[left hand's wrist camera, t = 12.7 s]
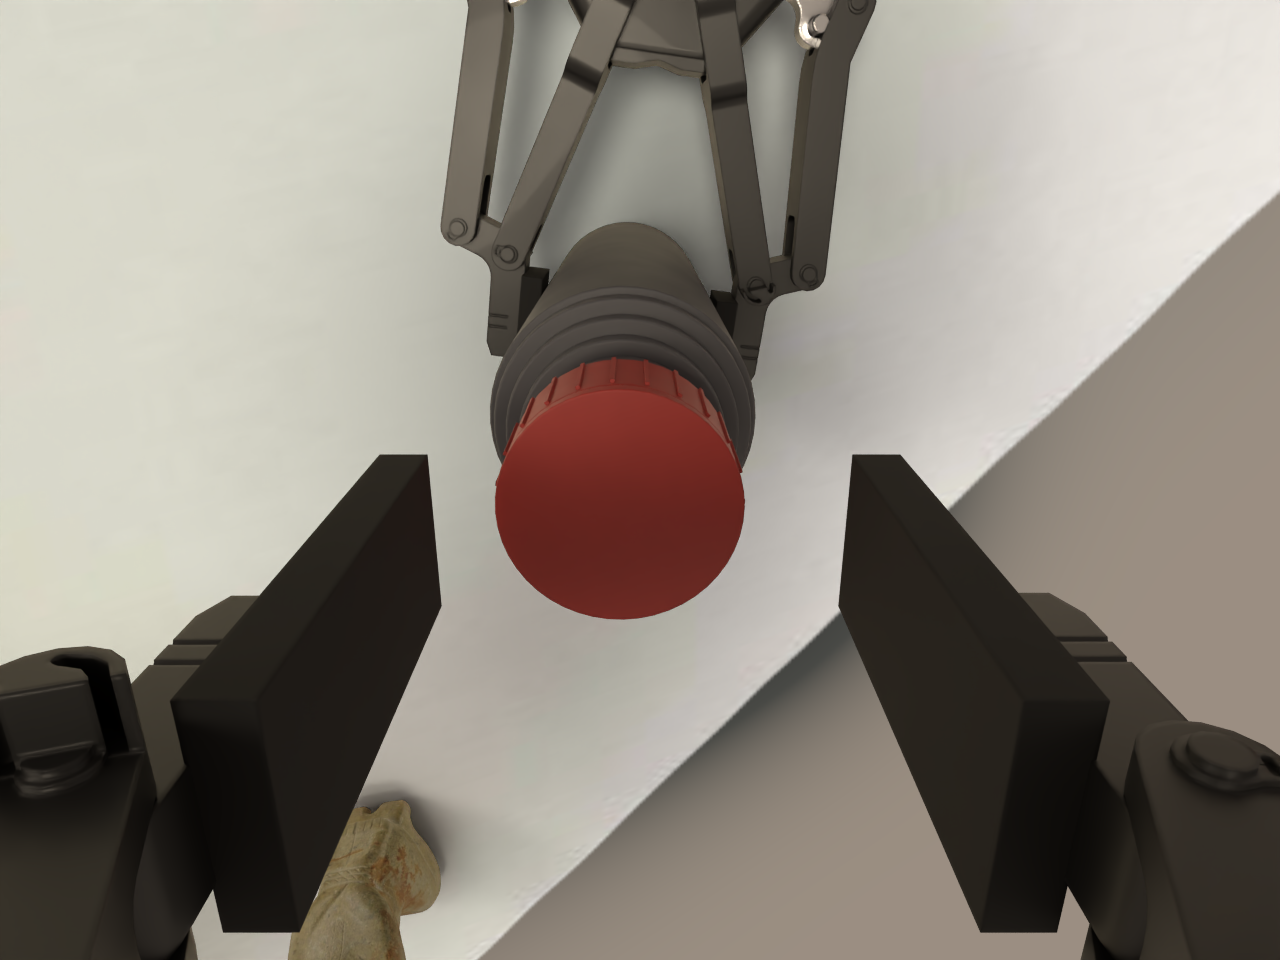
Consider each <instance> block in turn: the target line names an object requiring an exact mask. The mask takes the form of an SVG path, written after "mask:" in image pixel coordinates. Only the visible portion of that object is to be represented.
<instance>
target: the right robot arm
mask: <svg viewBox="0 0 1280 960" xmlns="http://www.w3.org/2000/svg"><path fill="white" fill-rule="evenodd" d="M782 1H783V0H568V2H569V4H570V6H571V8H572V10H573V12H574V14H575V15H576V17H577V19H578V21H579V23H580V25H581V28H580V30H579V32H578V35H577V37H576V40H575V42H574V45H573V47H572V49H571V52H570V54H569V57H568V59H567V62H566V65H565V69H564V73H563V75H562V78H561V80H560V83H559V85H558V88H557V90H556V92H555V95H554V97H553V100H552V102H551V105H550V107H549V109H548V112H547V114H546V117H545V119H544V122H543V124H542V127H541V129H540V131H539V134H538V136H537V139H536V141H535V144H534V146H533V148H532V151H531V153H530V156H529V158H528V161H527V163H526V165H525V168H524V170H523V173H522V175H521V178H520V180H519V182H518V185H517V187H516V190H515V192H514V195H513V197H512V199H511V202H510V204H509V207H508V209H507V212H506V214H505V216H504V219H503V221H502V223H500V222H498V221H496V220H494V219H492V218H490V217H488V216H487V215H488V208H489V201H490V194H491V187H492V180H493V174H494V167H495V160H496V153H497V146H498V139H499V133H500V126H501V119H502V112H503V105H504V98H505V91H506V85H507V78H508V71H509V64H510V57H511V50H512V44H513V34H514V9H513V7H517V6H521V5H523V4H524V3H526V2H527V0H467V2H468V7H469V8H468V16H467V23H466V31H465V39H464V47H463V54H462V62H461V70H460V78H459V86H458V93H457V101H456V109H455V117H454V125H453V132H452V140H451V148H450V156H449V164H448V171H447V179H446V187H445V195H444V203H443V210H442V218H441V232H442V235H443V237H444V238H445V239H446V240H447V241H448V242H449V243H450V244H453V245H455V246H461V247H463V248H465V249H467V250H469V251H471V252H473V253H475V254H477V255H479V256H480V257H481V258H483V259H484V260H485V261H486V263H487V264H488V266H489V269H490V272H491V286H490V301H489V316H488V330H487V343H488V347H489V350H490V353H491V355H495V356H503V357H504V355H505V353H506V352H507V350H508V348H509V347H510V345H511V343H512V342H513V340H514V338H515V337H516V335H517V334H518V332H519V331H520V329H521V327H522V326H523V324H524V323H525V321H526V320H527V318H528V316H529V315H530V313H531V312H532V310H533V308H534V307H535V305H536V304H537V302H538V301H539V299H540V297H541V296H542V294H543V293H544V291H545V290H546V288H547V286H548V280H549V269H545V268H537V267H529V265H530V256H531V255H532V253H533V252H532V251H533V248H534V246H535V244H536V241H537V239H538V237H539V234H540V232H541V230H542V227H543V225H544V223H545V220H546V218H547V216H548V213H549V211H550V209H551V206H552V204H553V202H554V199H555V197H556V195H557V192H558V190H559V188H560V185H561V183H562V181H563V178H564V176H565V174H566V171H567V169H568V167H569V164H570V162H571V160H572V157H573V155H574V153H575V150H576V148H577V146H578V143H579V141H580V139H581V136H582V134H583V132H584V129H585V127H586V125H587V122H588V120H589V118H590V115H591V113H592V111H593V108H594V106H595V104H596V101H597V99H598V97H599V95H600V93H601V91H602V89H603V87H604V84H605V82H606V80H607V78H608V75H609V73H610V71H611V68H612V66H617V67H624V68H632V69H637V68H643V67H650V66H659V67H662V68H664V69H666V70H668V71H670V72H673V73H675V74H677V75H681V76H688V77H695V78H699V79H700V86H701V92H702V98H703V103H704V106H705V110H706V116H707V122H708V129H709V135H710V141H711V148H712V154H713V160H714V167H715V173H716V179H717V186H718V192H719V198H720V205H721V211H722V217H723V224H724V230H725V236H726V243H727V249H728V255H729V262H730V268H731V274H732V281H733V285H732V291H731V293H730V292H723V291H715V290H711V295H710V300H711V301H712V303H713V305H714V307H715V309H716V311H717V312H718V314H719V316H720V318H721V320H722V322H723V324H724V325H725V327H726V329H727V331H728V333H729V335H730V337H731V338H732V340H733V342H734V344H735V346H736V348H737V349H738V351H739V353H740V355H741V357H742V359H743V362H744V364H745V366H746V368H747V371H748V374H749V377H750V380H752V378H753V377H754V375H755V371H756V365H757V358H758V354H759V347H760V343H761V337H762V332H763V326H764V320H765V315H766V311H767V308H768V306H769V304H770V303H771V302H772V301H773V300H774V299H775V298H777V297H778V296H781V295H783V294H788V293H792V292H797V291H801V290H804V291H811V290H815V289H816V288H818V287H819V286H820V285H821V284H822V283H823V281H824V278H825V275H826V266H827V258H828V249H829V241H830V232H831V224H832V215H833V207H834V198H835V190H836V181H837V173H838V164H839V156H840V147H841V139H842V130H843V122H844V113H845V105H846V96H847V87H848V79H849V70H850V63H851V60H852V58H853V56H854V54H855V52H856V49H857V47H858V45H859V43H860V40H861V38H862V36H863V34H864V32H865V29H866V27H867V25H868V23H869V21H870V18H871V16H872V14H873V12H874V9H875V5H876V0H786V1H787V2H789V3H790V4H791V5H792V7H793V8H794V11H795V14H796V22H795V28H794V35H795V39H796V41H797V42H798V44H799V45H800V46H801V47H803V48H804V49H807V51H806V54H805V57H804V61H803V65H802V69H801V75H800V82H799V91H798V101H797V111H796V121H795V131H794V141H793V151H792V161H791V171H790V181H789V191H788V202H787V212H786V222H785V232H784V242H783V252H782V255H780V256H776V257H771V258H769V252H768V245H767V238H766V231H765V224H764V217H763V210H762V203H761V196H760V189H759V182H758V175H757V167H756V160H755V153H754V146H753V139H752V132H751V125H750V118H749V111H748V104H747V83H746V75H745V68H744V61H743V54H742V47H743V46H744V44H745V43H746V42H747V41H748V40H749V39H750V38H751V36H752V35H753V34H754V33H755V32H756V31H757V30H758V29H759V27H760V26H761V25H762V24H763V23H764V22H765V21H766V19H767V18H768V17H769V16H770V15H771V14H772V13H773V11H774V10H775V9H776V8H777V7H778V6H779V5H780V4H781V2H782Z"/></svg>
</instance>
